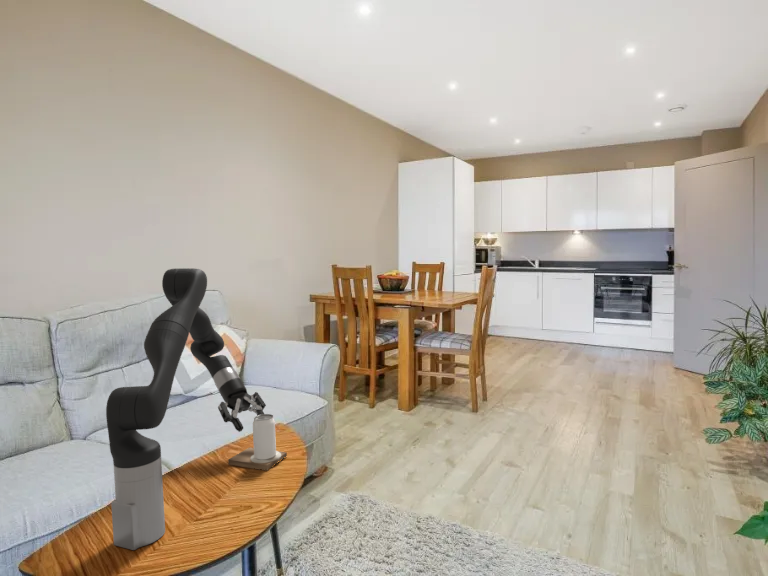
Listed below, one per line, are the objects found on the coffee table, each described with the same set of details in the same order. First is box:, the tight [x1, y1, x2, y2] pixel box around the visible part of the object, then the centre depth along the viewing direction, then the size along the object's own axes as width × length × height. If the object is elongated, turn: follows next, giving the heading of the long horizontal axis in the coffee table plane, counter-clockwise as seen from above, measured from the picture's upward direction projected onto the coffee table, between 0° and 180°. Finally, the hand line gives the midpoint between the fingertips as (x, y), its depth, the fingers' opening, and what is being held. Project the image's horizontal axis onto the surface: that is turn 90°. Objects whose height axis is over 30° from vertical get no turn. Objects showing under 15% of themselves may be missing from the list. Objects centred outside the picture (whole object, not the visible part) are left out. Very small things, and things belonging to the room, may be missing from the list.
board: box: [227, 447, 288, 471], centre depth 142 cm, size 10×14×2 cm
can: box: [252, 413, 277, 460], centre depth 140 cm, size 6×6×12 cm
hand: (253, 425), depth 144 cm, fingers open, 8 cm apart
